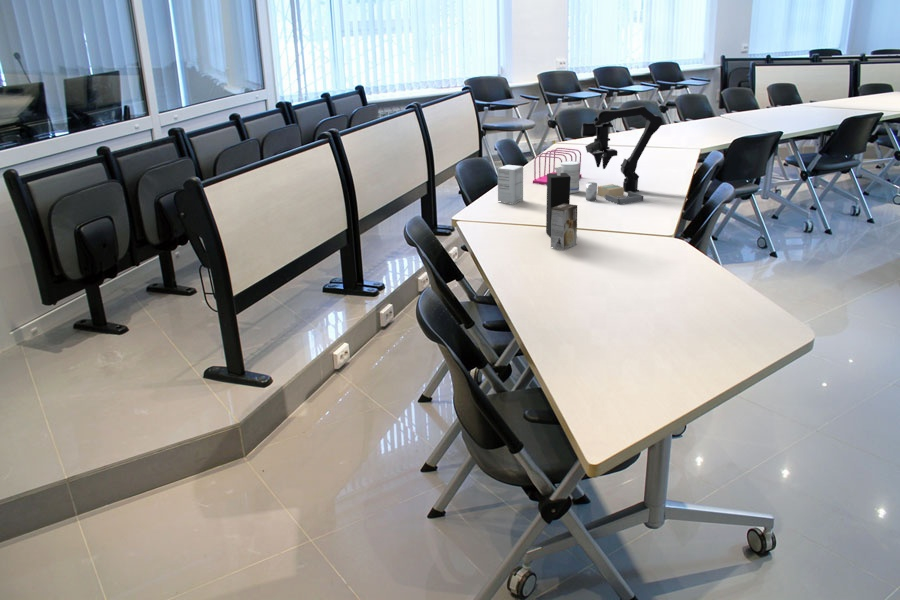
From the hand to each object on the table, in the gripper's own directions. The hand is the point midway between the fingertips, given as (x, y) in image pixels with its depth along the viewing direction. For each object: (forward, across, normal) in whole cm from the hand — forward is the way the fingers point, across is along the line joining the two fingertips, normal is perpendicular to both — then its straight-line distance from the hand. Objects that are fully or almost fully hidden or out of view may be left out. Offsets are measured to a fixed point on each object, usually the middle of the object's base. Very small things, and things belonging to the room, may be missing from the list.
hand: (601, 168), depth 361 cm
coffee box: (+12, +70, -63) cm, 95 cm away
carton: (+12, +9, 0) cm, 15 cm away
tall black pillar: (+12, +55, -57) cm, 80 cm away
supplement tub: (+12, -8, -13) cm, 20 cm away
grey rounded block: (+12, +12, -13) cm, 21 cm away
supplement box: (+12, -5, -48) cm, 50 cm away
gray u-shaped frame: (+12, +20, 0) cm, 24 cm away
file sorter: (+12, -34, -5) cm, 37 cm away
